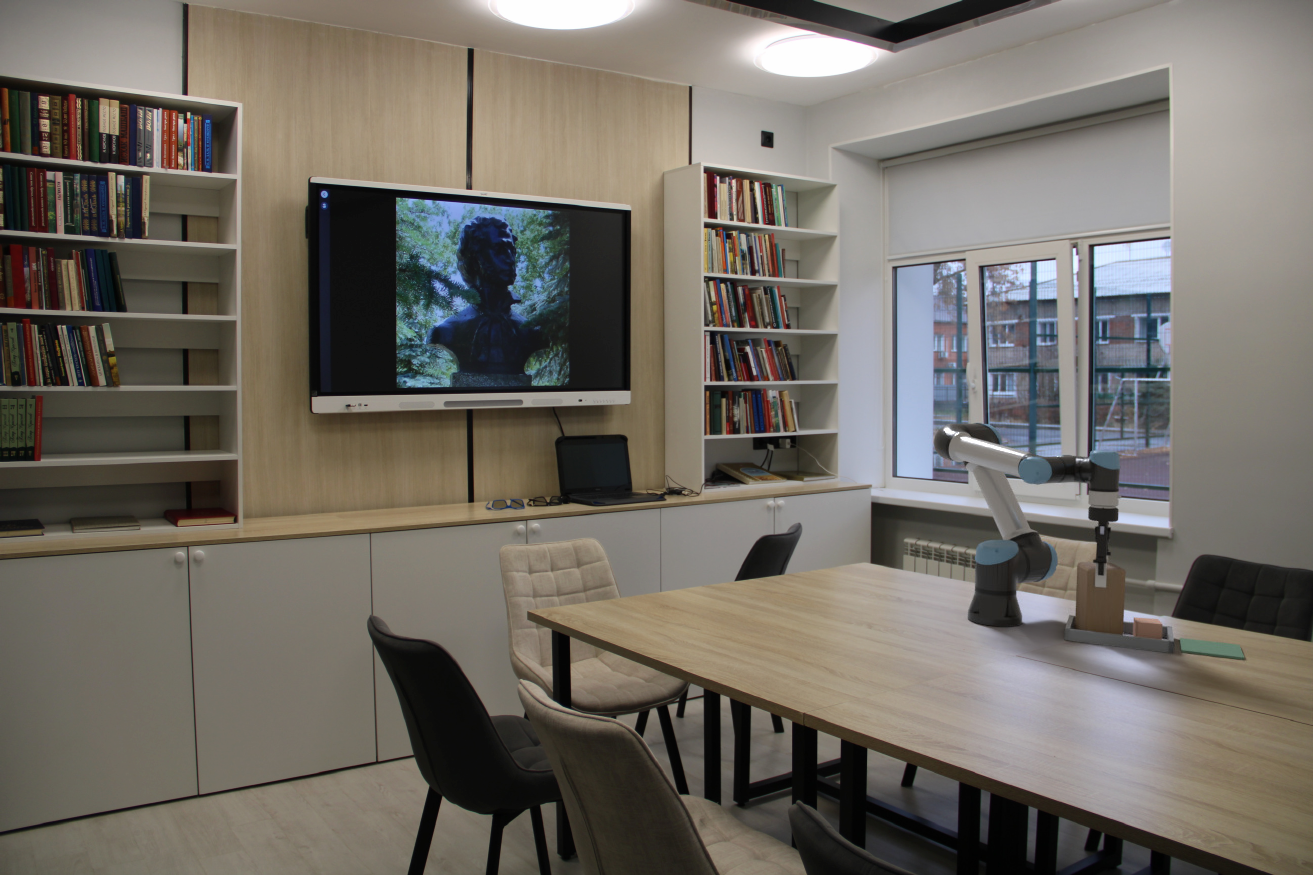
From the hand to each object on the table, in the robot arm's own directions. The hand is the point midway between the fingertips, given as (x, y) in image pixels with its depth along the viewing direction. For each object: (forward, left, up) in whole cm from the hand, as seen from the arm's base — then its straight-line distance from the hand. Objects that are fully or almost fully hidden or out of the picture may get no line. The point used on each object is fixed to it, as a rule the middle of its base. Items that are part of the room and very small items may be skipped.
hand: (1101, 582), depth 260 cm
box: (+12, 0, -15) cm, 19 cm away
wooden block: (0, 0, -15) cm, 15 cm away
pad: (+27, 0, -15) cm, 31 cm away
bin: (+5, 0, -15) cm, 16 cm away
